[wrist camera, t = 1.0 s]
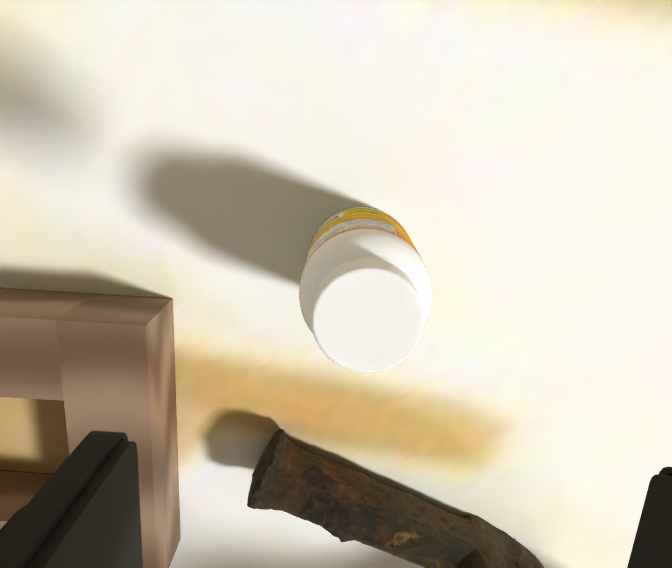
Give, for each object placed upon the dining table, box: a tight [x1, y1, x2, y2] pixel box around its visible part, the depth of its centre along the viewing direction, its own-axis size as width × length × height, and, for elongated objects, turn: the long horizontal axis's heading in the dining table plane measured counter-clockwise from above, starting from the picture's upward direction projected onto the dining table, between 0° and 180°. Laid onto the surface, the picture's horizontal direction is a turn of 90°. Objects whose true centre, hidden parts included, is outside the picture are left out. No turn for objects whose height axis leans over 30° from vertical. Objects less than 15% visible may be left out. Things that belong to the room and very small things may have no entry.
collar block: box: [0, 288, 180, 568], centre depth 29 cm, size 16×16×4 cm
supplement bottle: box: [299, 207, 432, 373], centre depth 23 cm, size 5×5×10 cm
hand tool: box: [247, 429, 544, 568], centre depth 30 cm, size 19×4×5 cm, turn 62°
